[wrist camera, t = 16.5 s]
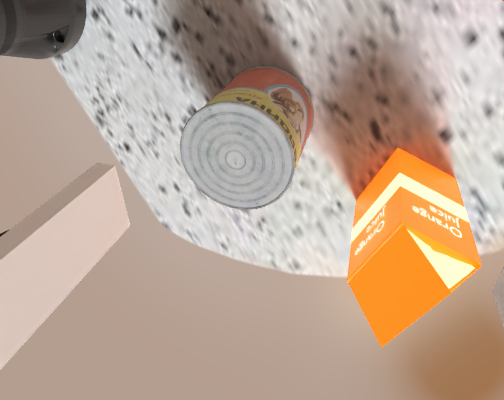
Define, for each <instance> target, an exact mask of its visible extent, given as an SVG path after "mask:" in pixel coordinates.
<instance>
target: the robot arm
mask: <svg viewBox="0 0 504 400" xmlns="http://www.w3.org/2000/svg"><path fill="white" fill-rule="evenodd" d="M85 19H86V2H85V0H0V55H3V56H13V57H23V58H34V59H45V58H51V57H54V56H57V55H60V54H63V53H65V52H67V51H69V50H70V49H72V48H73V47H74V46H75V45H76V43H77V42H78V41H79V39H80V37H81V35H82V32H83V29H84V26H85ZM129 226H130V222H129V218H128V214H127V210H126V206H125V202H124V199H123V194H122V190H121V187H120V183H119V179H118V175H117V171H116V167H115V165H108V164H101V163H96V164H95V165H94V166H92V167H91V168H90V169H89V170H87V171H86V172H85V173H83V174H82V175H81V176H79V177H78V178H77V179H75V180H74V181H73V182H72V183H70V184H69V185H68V186H66V187H65V188H64V189H62V190H61V191H60V192H58V193H57V194H56V195H55V196H54V197H52V198H51V199H49V200H48V201H47V202H45V203H44V204H43V205H41V206H40V207H39V208H38V209H36V210H35V211H34V212H32V213H31V214H30V215H28V216H27V217H26V218H24V219H23V220H22V221H21V222H19V223H18V224H17V225H15V226H14V227H13V228H12V229H10V230H8V231H5V232H3V233H1V234H0V370H1V369H2V367H3V366H4V365H5V364H6V363H7V362H8V361H9V360H10V359H11V357H12V356H13V355H14V354H15V353H16V352H17V351H18V349H19V348H20V347H21V346H22V345H23V344H24V343H25V342H26V341H27V340H28V339H29V337H30V336H31V335H32V334H33V333H34V332H35V331H36V330H37V329H38V327H39V326H40V325H41V324H42V323H43V322H44V321H45V320H46V318H47V317H48V316H49V315H50V314H51V313H52V312H53V311H54V310H55V309H56V307H57V306H58V305H59V304H60V303H61V302H62V301H63V300H64V299H65V297H66V296H67V295H68V294H69V293H70V292H71V291H72V290H73V288H74V287H75V286H76V285H77V284H78V283H79V282H80V281H81V280H82V278H84V276H85V275H86V274H87V273H88V272H89V271H90V270H91V269H92V268H93V266H94V265H95V264H96V263H97V262H98V261H99V260H100V258H101V257H102V256H103V255H104V254H105V253H106V252H107V251H108V250H109V249H110V248H111V246H112V245H113V244H114V243H115V242H116V241H117V240H118V239H119V238H120V236H121V235H122V234H123V233H124V232H125V231H126V229H128V227H129ZM492 291H493V294H494V298H495V301H496V304H497V307H498V311H499V314H500V317H501V321H502V324H503V327H504V268H503V270H502V272H501V274H500V276H499V278H498V280H497V282H496V284H495V286H494V288H493V290H492Z"/></svg>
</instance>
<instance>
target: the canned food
mask: <svg viewBox="0 0 504 400" xmlns="http://www.w3.org/2000/svg"><path fill="white" fill-rule="evenodd" d="M313 122H314V109H313V104H312V100H311V98H310V95H309V93H308V92H307V90H306V88H305V87H304V86H303V84H302V83H301V82H300V81H299V80H298V79H297V78H296V77H294V76H293V75H292V74H290V73H288V72H287V71H285V70H282V69H280V68H276V67H271V66H257V67H252V68H249V69H247V70H245V71H243V72H241V73H240V74H238V75H237V76H236V77H235V78H234V79H233V80H232V81H231V82H230V83H229V84H228V85H227V86H226V87H225V88H224V89H223V90H222V91H220V92H219V93H218V94H217V95H216V96H215V97H214V98H213V99H212V100H211V101H209V102H208V103H207V104H206V105H205V106H204V107H203V108H201V109H200V110H198V111H197V112H196V113H195V114H193V115H192V117H191V118H190V119H189V120H188V122H187V123H186V125H185V127H184V129H183V132H182V136H181V141H180V152H181V158H182V162H183V165H184V167H185V169H186V172H187V173H188V175H189V177H190V178H191V180H192V181H193V183H194V184H195V185H196V186H197V187H198V188H199V189H200V190H201V191H202V192H203V193H204V194H205V195H207V196H208V197H210V198H211V199H213V200H214V201H216V202H218V203H220V204H222V205H225V206H228V207H231V208H236V209H245V210H248V209H258V208H262V207H265V206H268V205H270V204H272V203H274V202H275V201H277V200H278V199H279V198H280V197H281V196H282V195H283V194H284V193H285V192H286V190H287V189H288V187H289V185H290V183H291V181H292V178H293V175H294V171H295V168H296V166H297V163H298V160H299V158H300V155H301V153H302V150H303V148H304V145H305V143H306V140H307V138H308V137H309V135H310V132H311V130H312V127H313Z"/></svg>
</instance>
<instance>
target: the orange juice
mask: <svg viewBox="0 0 504 400" xmlns="http://www.w3.org/2000/svg"><path fill="white" fill-rule="evenodd" d="M469 223H470V222H469V219H468V215H467V212H466V209H465V207H464V204H463V201H462V198H461V194H460V191H459V188H458V184H457V181H456V178H454V177H452V176H450V175H449V174H447V173H445V172H443V171H441V170H439V169H437V168H435V167H434V166H432V165H430V164H428V163H426V162H424V161H422V160H421V159H419V158H417V157H415V156H413V155H411V154H409V153H408V152H406V151H404V150H402V149H400V148H397V149H396V150H395V152H394V153H393V154H392V155H391V157H390V158H389V159H388V161H387V162H386V163H385V164H384V166H383V167H382V168H381V170H380V171H379V172H378V173H377V175H376V176H375V177H374V178H373V180H372V181H371V182H370V184H369V185H368V186H367V187H366V189H365V190H364V191H363V192H362V194H361V195H360V196H359V198H358V199H357V200H356V206H355V215H354V224H353V229H352V237H351V250H350V259H349V268H348V277H347V282H348V283H349V285H350V287H351V289H352V291H353V293H354V295H355V297H356V299H357V301H358V302H359V305H360V306H361V308H362V310H363V312H364V314H365V316H366V318H367V320H368V322H369V324H370V326H371V328H372V330H373V332H374V334H375V336H376V338H377V340H378V342H379V344H380V346H381V347H382V346H383V345H385V344H386V343H387V342H389V341H390V340H391V339H393V338H394V337H395V336H396V335H397V334H399V333H400V332H402V331H403V330H404V329H405V328H407V327H408V326H409V325H410V324H412V323H413V322H414V321H416V320H417V319H418V318H419V317H421V316H422V315H423V314H425V313H426V312H427V311H428V310H430V309H431V308H432V307H434V306H435V305H436V304H437V303H439V302H440V301H441V300H443V299H444V298H445V297H446V296H448V295H449V294H450V293H451V292H452V291H453V290H454V289H456V288H457V287H458V286H459V285H460V284H461V283H463V281H465V280H466V279H467V278H468V277H469V276H471V275H472V274H473V273H474V272H475V270H476V269H479V267H480V266H481V261H480V258H479V255H478V251H477V248H476V245H475V241H474V238H473V234H472V231H471V228H470V224H469ZM471 273H472V274H471ZM470 274H471V275H470ZM466 277H467V278H466ZM465 278H466V279H465ZM462 280H463V281H462ZM461 281H462V282H461ZM457 284H458V285H457ZM456 285H457V286H456ZM452 288H453V289H452ZM451 289H452V290H451Z"/></svg>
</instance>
